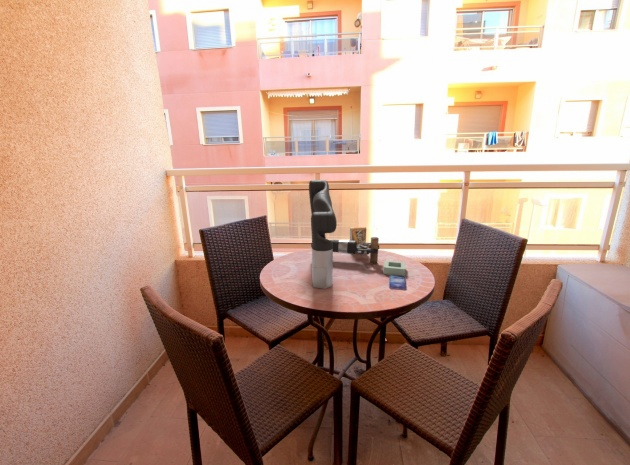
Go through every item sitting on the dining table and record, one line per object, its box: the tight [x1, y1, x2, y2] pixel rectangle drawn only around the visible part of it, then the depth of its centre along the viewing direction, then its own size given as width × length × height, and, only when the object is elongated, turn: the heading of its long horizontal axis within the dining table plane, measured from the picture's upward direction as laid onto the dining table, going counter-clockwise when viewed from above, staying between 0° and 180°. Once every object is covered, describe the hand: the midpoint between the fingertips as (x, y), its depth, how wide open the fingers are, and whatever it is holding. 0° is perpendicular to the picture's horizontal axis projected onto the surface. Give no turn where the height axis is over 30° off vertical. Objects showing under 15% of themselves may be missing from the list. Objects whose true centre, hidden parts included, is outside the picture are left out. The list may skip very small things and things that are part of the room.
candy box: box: [349, 226, 367, 254], centre depth 174 cm, size 9×4×15 cm, turn 103°
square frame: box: [383, 260, 406, 277], centre depth 146 cm, size 10×10×4 cm
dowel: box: [369, 236, 380, 265], centre depth 156 cm, size 4×4×14 cm
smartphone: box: [388, 274, 407, 291], centre depth 134 cm, size 7×1×15 cm
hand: (378, 249), depth 155 cm, fingers open, 6 cm apart
